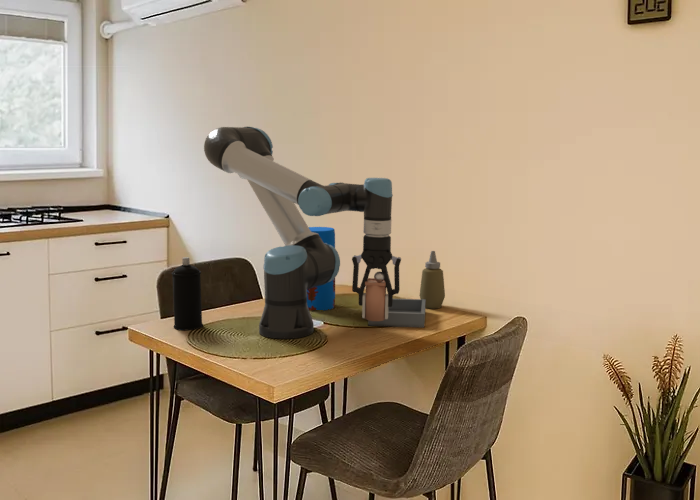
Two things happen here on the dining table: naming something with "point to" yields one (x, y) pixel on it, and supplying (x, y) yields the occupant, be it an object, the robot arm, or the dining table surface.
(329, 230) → the thermos
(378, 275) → the ball
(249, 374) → the dining table surface
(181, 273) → the aerosol can
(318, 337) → the dining table surface
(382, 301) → the shaker
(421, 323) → the tray
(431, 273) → the squeeze bottle
